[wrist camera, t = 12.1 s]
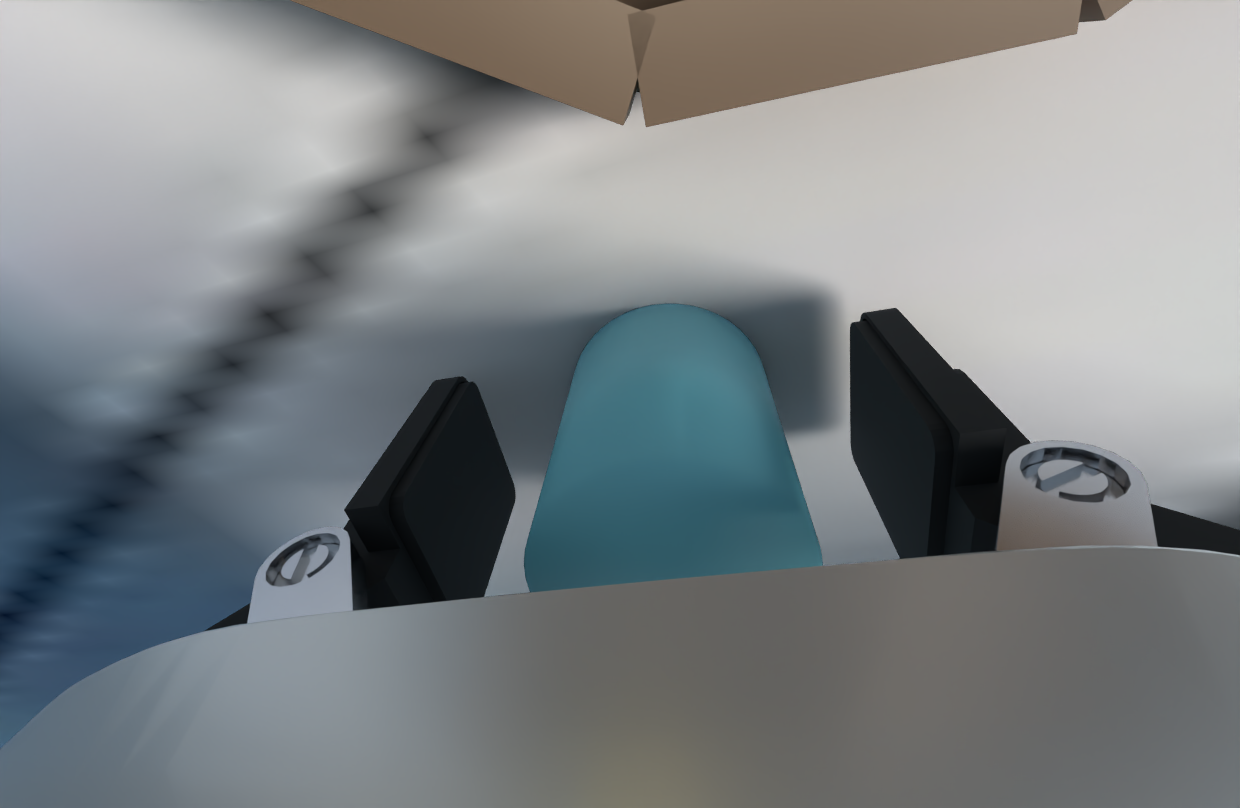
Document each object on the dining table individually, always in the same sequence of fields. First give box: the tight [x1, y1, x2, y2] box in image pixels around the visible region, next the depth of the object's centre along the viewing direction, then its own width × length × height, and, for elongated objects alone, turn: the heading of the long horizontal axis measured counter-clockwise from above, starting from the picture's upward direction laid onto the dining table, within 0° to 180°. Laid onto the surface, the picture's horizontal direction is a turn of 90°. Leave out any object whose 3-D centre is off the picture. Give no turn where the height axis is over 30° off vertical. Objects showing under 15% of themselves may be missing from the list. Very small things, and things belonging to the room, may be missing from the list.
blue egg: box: [524, 304, 823, 593], centre depth 10 cm, size 4×4×5 cm
